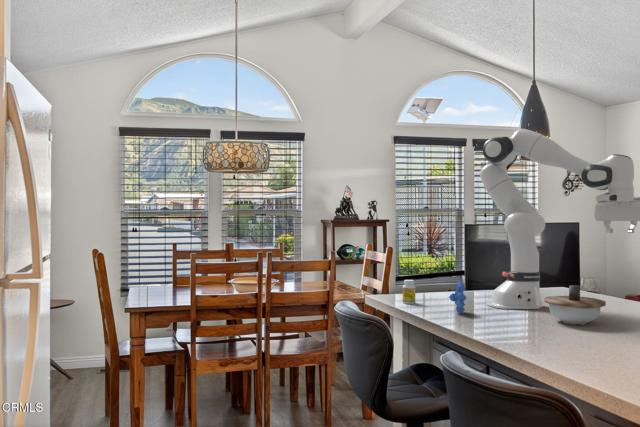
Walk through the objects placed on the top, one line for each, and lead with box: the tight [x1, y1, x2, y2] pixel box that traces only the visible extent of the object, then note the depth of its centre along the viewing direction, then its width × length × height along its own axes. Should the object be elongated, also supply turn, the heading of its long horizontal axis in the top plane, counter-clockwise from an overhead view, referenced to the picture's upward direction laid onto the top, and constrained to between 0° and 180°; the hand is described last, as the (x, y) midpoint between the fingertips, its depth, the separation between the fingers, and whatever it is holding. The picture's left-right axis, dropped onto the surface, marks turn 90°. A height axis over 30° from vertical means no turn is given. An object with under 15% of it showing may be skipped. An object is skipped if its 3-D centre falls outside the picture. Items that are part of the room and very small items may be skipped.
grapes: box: [448, 281, 468, 315], centre depth 230 cm, size 12×7×12 cm, turn 169°
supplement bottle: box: [402, 279, 416, 305], centre depth 253 cm, size 5×5×10 cm
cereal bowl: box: [548, 303, 602, 326], centre depth 212 cm, size 17×17×7 cm
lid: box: [543, 284, 607, 308], centre depth 212 cm, size 20×20×6 cm
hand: (620, 233), depth 228 cm, fingers open, 8 cm apart
